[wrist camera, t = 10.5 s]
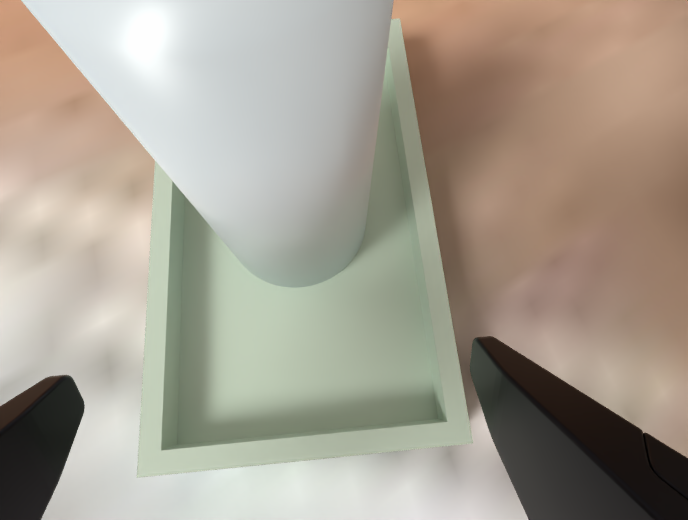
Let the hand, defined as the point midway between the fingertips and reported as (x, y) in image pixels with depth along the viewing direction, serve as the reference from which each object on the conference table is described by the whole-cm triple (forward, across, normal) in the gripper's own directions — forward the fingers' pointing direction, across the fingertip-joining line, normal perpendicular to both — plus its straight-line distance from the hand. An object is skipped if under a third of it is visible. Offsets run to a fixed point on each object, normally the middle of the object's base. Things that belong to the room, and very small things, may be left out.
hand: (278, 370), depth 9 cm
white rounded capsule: (+11, 0, 0) cm, 11 cm away
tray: (+11, 0, +1) cm, 11 cm away
